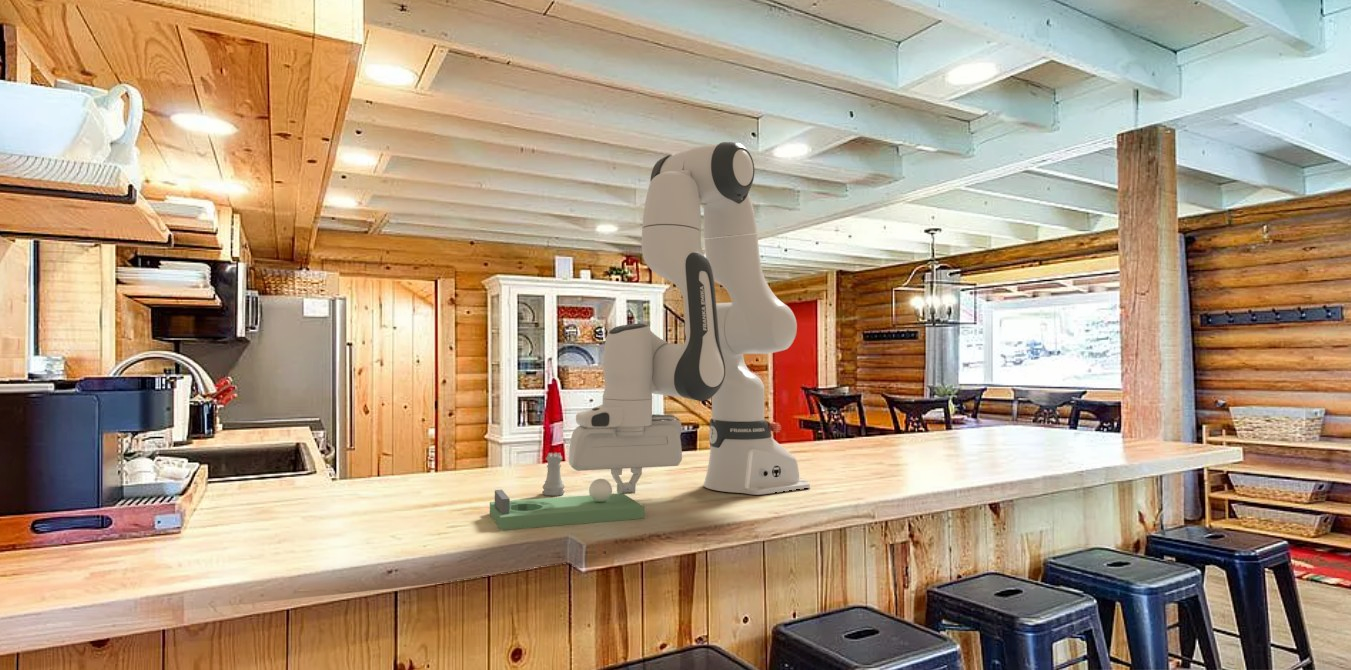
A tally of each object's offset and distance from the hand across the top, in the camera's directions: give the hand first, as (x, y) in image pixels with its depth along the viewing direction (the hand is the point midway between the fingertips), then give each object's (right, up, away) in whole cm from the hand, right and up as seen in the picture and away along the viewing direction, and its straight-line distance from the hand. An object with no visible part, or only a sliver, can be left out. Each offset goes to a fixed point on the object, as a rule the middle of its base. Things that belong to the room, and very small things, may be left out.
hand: (626, 493), depth 126 cm
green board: (-10, -3, -4) cm, 11 cm away
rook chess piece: (-15, -4, +14) cm, 21 cm away
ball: (-4, +1, -2) cm, 5 cm away
